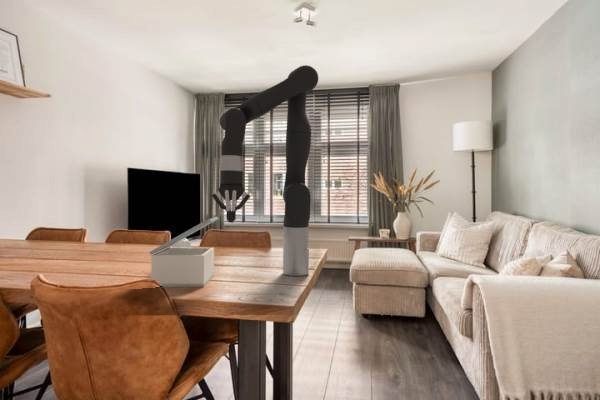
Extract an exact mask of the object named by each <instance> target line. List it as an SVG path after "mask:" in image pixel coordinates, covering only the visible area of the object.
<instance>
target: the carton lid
mask: <svg viewBox="0 0 600 400" xmlns="http://www.w3.org/2000/svg"><path fill="white" fill-rule="evenodd" d="M218 220H219V217H218V216H214V217H211V218H208V219H206V220H204V221H203V222H202V221H201V222H200V223H199V224H197V225H195V226H193V227H192V228H190V229H188V230H186V231H184V232H183V233H181V234H179V235H178V236H175V237H174V238H171V239H170V240H168V241H166V242H165V243H163V244H160V245H159V246H158V247H156V248H154V249H152V250H150V251H149V254H150V255H153V254H155V253H158V252H160V251H162V250H164V249H166V248H170V247H171V246H172V245H173V244H175V243H176V242H178V241H180V240H182V239H184V238H187V237H189V236H191V235H192V234H194V233H196V232H198V231H200V230H201V229H204V228H205V227H207V226H209V225H210V224H212V223H214V222H216V221H218Z"/></svg>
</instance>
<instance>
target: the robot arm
mask: <svg viewBox="0 0 600 400" xmlns="http://www.w3.org/2000/svg"><path fill="white" fill-rule="evenodd" d="M318 84H319V73H318V72H317V70H316V69H315V68H314V67H313V66H311V65H309V64H305V65H301V66H298V67H297V68H295V69H294V70H291V72H290V73H289V74H288V76H287V78H286V79H284V80H282V81H280V82H279V83H277V84H274V85H273V86H271V87H269V88H266V89H264V90H262V91H260V92H258V93H257V94H255V95H253V96H251V97H250V98H248V99H246V100H245V101H244V102H242V103H241V104H239V105H237V106H235V107H231V108H229V109H227V110H226V111H225V112H224V113H222V114H221V116H220V118H219V126H220V128H221V129H222V130H223V131H224V137H223V138H222V142H221V146H220V147H221V150H220V151H221V153H220V154H221V156H220V165H219V170H220V171H219V173H220V174H219V175H220V176H219V177H220V178H219V187H218V190H217V191H216V192H215V193H213V194H211V197H212V198H213V200H214V201H215V202H216V204H217V205H218V206H219V207H220V208H221V210H224V211H226V221H228V223H232V224H233V223H234V221H236V217H237V211H238V210H241V209H242V208H243V206H244V205H245V204H246V203H247V202H248V201H249V199H251V194H248V193H247V191H245V188H244V159H243V158H244V157H243V155H244V153H243V152H244V144H243V143H244V140H245V134H246V128H247V124H249V123H251V122H252V121H254V120H257V119H259V118H261V117H263V116H264V115H266V114H267V113H269V112H271V111H273V110H274V109H275V108H276V107H278V106H280V105H282V104H284V102H286V101H287V113H286V116H287V117H286V132H285V133H286V134H285V166H286V168H285V169H286V170H285V179H284V184H283V185H284V186H283V191H282V198H283V201H284V216H283V217H284V218H283V228H282V229H283V237H282V239H283V240H282V242H283V244H282V246H283V248H282V251H283V252H282V273H283V275H285V276H290V277H301V276H302V277H303V276H309V274H310V273H309V272H310V271H309V269H310V268H309V266H310V264H309V263H310V260H309V259H310V248H309V230H310V229H309V227H310V226H309V225H310V219H311V197H312V196H311V191H310V189H309V187H308V186H307V185H306V170H307V169H306V168H307V165H308V160H309V156H310V152H311V145H312V127H311V126H312V125H311V124H310V120H309V117H308V115H307V110H306V107H307V105H306V104H307V103H306V102H307V94H308V93H309V92H311V91H313V90H314V89H315V88H316V87H317V85H318ZM241 197H242V200H241V201H240V203H238V200H239V199H240V198H241ZM221 198H223V200H225V201H224V202H225V204H224V202H223V201H222V199H221ZM237 204H238V205H237Z"/></svg>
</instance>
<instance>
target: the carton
mask: <svg viewBox="0 0 600 400" xmlns="http://www.w3.org/2000/svg"><path fill="white" fill-rule="evenodd" d="M150 255H151V254H150ZM150 266H151V268H150V273H151V274H150V275H151V277H150V278H151V279H154V280H156V281H158V282H159V283H160V284H161V285H162V286H163V287H162V288H204V287H206V285H207V284H208V283H209V282H210V281H211V280H212V278H213V277H214V276H215V247H191V248H172V247H167V248H165V249H163V250H161V251H158V252H156V253H154V254H152V255H151V265H150ZM151 279H150V280H151Z"/></svg>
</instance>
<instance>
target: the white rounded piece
mask: <svg viewBox="0 0 600 400" xmlns="http://www.w3.org/2000/svg"><path fill="white" fill-rule="evenodd" d="M171 246H172V247H171V248H192V244H191V242H190V241H189V239H187V237H185V238H184V239H182V240H180V241H178V242H176V243H175V244H173V245H171Z"/></svg>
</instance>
